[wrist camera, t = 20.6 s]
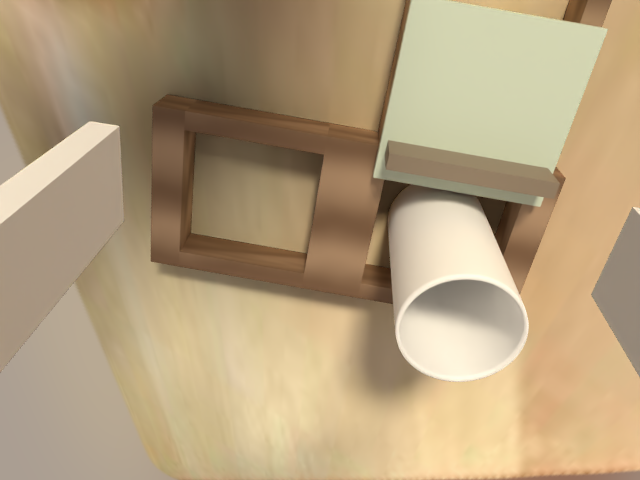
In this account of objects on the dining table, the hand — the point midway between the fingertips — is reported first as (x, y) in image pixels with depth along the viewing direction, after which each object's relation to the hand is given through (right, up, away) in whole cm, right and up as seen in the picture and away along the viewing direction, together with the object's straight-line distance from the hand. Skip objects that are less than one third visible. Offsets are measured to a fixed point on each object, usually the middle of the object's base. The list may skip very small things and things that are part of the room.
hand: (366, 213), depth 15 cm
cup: (+9, +1, +35) cm, 36 cm away
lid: (+10, +9, +26) cm, 29 cm away
